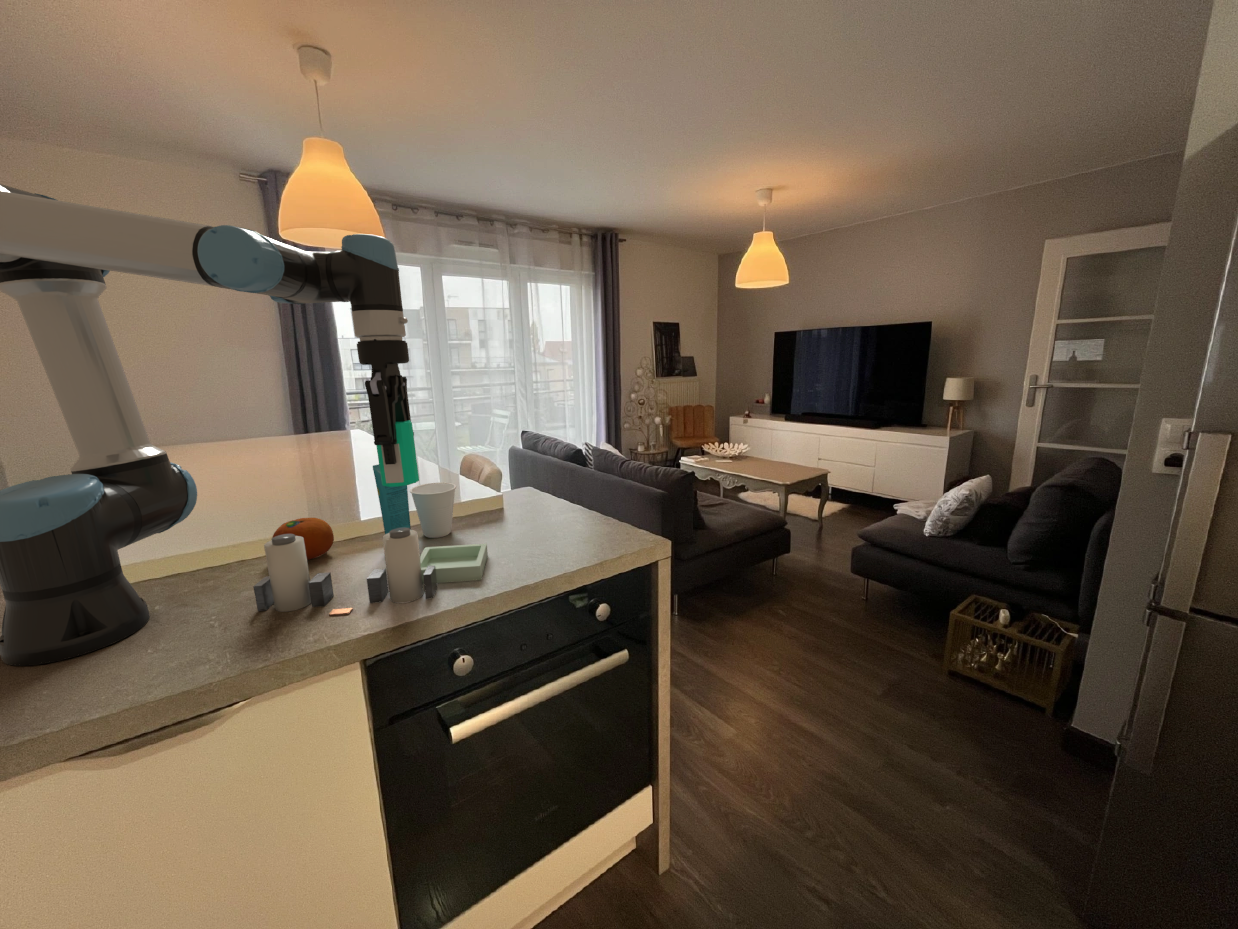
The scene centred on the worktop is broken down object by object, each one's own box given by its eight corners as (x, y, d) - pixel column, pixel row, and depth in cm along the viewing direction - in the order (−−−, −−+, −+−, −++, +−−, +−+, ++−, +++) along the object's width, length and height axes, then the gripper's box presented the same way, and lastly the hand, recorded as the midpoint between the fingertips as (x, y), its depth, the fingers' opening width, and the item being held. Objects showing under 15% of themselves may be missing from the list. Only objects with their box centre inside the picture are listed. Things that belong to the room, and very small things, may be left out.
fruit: (327, 544, 109) (322, 509, 108) (342, 557, 102) (337, 520, 100) (269, 558, 102) (263, 521, 100) (281, 573, 95) (274, 534, 93)
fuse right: (385, 604, 83) (377, 537, 80) (395, 589, 88) (387, 526, 85) (419, 601, 84) (412, 535, 81) (426, 587, 89) (420, 524, 86)
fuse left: (268, 613, 80) (255, 544, 78) (285, 597, 86) (274, 532, 83) (304, 610, 81) (293, 542, 78) (318, 594, 86) (308, 530, 84)
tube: (405, 542, 110) (396, 457, 106) (421, 545, 108) (413, 459, 104) (376, 554, 103) (365, 464, 99) (393, 558, 101) (383, 466, 97)
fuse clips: (245, 622, 78) (240, 596, 77) (269, 600, 84) (265, 576, 83) (428, 608, 81) (425, 583, 80) (437, 588, 88) (435, 565, 87)
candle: (404, 487, 83) (395, 415, 80) (373, 486, 84) (363, 415, 81) (426, 478, 88) (418, 410, 86) (396, 477, 90) (387, 411, 87)
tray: (412, 584, 90) (411, 570, 89) (426, 560, 100) (425, 547, 100) (481, 580, 91) (480, 565, 91) (487, 556, 102) (486, 543, 101)
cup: (416, 529, 118) (411, 484, 116) (459, 524, 121) (456, 480, 119) (412, 543, 109) (407, 495, 107) (460, 538, 112) (456, 491, 109)
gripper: (387, 337, 73) (407, 490, 78) (420, 340, 90) (435, 465, 95) (333, 338, 72) (357, 493, 77) (377, 341, 89) (394, 467, 94)
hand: (400, 477), depth 86 cm, fingers closed on candle, 5 cm apart
